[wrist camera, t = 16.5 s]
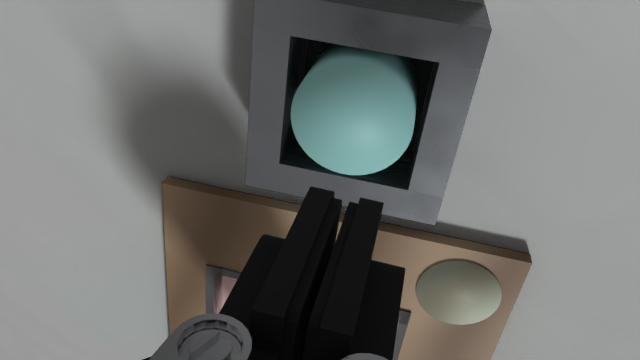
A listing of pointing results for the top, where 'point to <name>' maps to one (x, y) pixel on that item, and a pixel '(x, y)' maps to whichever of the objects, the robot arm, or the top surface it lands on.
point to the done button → (356, 109)
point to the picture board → (390, 247)
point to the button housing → (377, 35)
